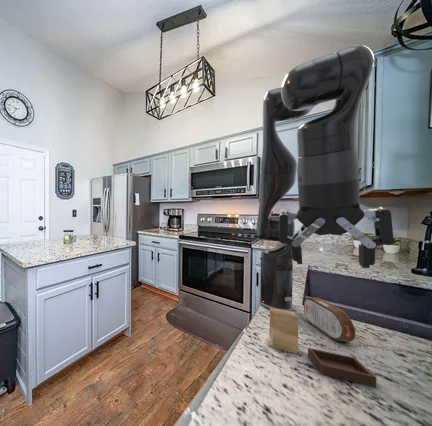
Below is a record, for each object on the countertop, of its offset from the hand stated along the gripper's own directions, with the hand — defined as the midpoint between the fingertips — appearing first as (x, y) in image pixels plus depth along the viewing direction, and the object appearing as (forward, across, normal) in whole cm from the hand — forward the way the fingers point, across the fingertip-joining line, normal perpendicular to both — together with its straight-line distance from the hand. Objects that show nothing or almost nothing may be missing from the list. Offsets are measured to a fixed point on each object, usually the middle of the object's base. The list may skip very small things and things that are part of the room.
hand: (329, 264), depth 39 cm
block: (+26, +8, -7) cm, 28 cm away
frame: (+27, -2, -4) cm, 27 cm away
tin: (+31, -3, -23) cm, 39 cm away
